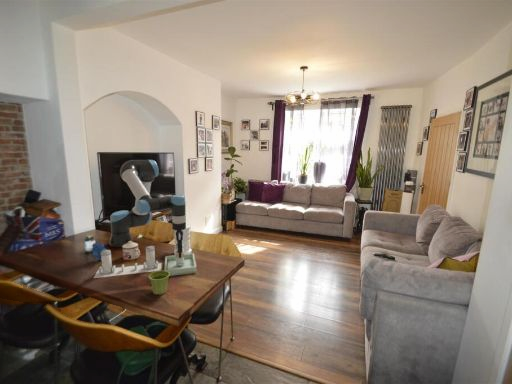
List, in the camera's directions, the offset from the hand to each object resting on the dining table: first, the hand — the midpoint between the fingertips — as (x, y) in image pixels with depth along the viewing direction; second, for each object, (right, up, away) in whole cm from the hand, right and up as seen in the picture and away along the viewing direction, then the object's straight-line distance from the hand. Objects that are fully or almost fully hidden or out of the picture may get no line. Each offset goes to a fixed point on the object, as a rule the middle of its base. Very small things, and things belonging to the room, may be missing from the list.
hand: (180, 260), depth 150 cm
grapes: (-51, -2, +5) cm, 51 cm away
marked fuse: (0, -2, 0) cm, 2 cm away
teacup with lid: (-32, -2, +9) cm, 34 cm away
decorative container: (-5, 0, +22) cm, 22 cm away
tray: (0, -4, +1) cm, 4 cm away
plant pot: (-2, -8, -26) cm, 27 cm away
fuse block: (-26, -5, -7) cm, 27 cm away
